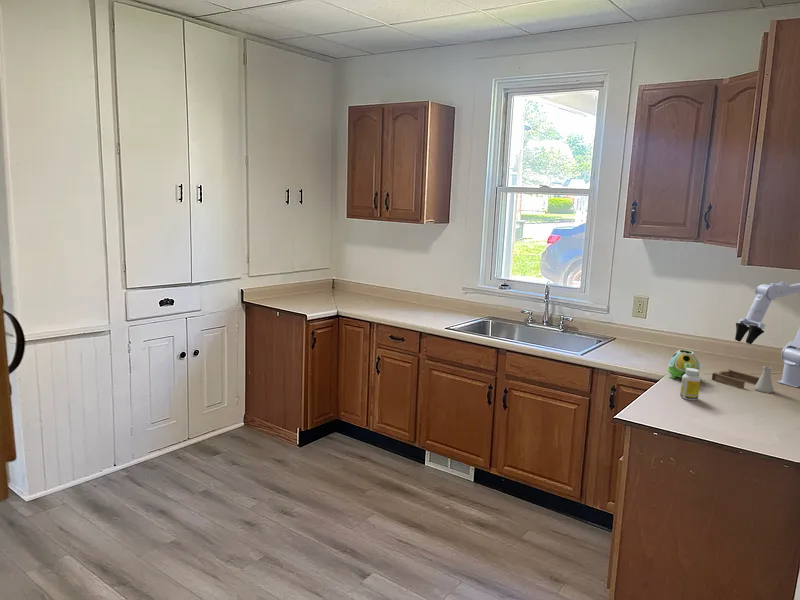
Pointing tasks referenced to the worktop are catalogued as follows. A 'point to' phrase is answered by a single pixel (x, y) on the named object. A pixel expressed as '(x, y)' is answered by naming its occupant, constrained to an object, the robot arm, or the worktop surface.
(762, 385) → the flask
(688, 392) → the pill bottle
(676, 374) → the turtle holder
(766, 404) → the worktop surface
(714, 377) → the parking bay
